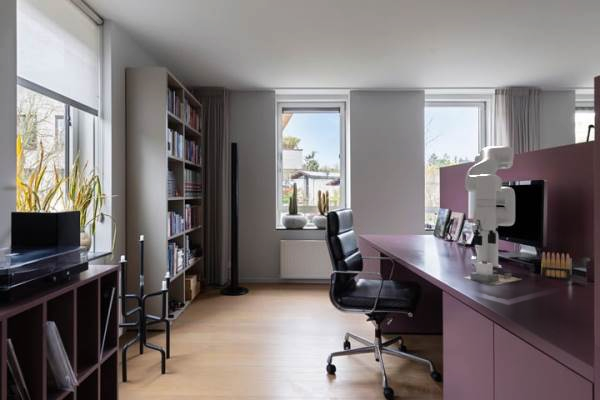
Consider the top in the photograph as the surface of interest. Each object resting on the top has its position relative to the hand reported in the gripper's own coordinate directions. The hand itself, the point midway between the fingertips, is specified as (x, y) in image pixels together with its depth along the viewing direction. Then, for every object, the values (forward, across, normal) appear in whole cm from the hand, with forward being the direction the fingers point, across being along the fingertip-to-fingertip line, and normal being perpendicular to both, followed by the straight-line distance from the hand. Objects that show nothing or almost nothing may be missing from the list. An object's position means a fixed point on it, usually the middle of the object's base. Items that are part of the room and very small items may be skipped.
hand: (485, 244), depth 141 cm
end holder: (+15, +1, 0) cm, 15 cm away
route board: (+17, -5, 0) cm, 17 cm away
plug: (+15, +1, 0) cm, 15 cm away
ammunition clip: (+17, -37, +10) cm, 42 cm away
